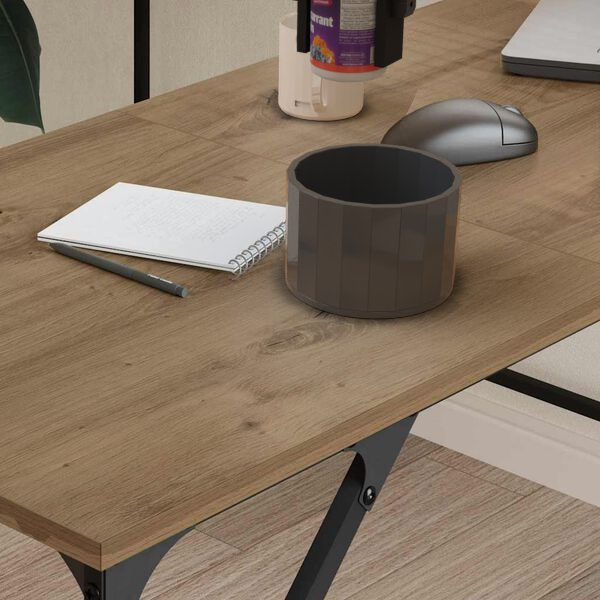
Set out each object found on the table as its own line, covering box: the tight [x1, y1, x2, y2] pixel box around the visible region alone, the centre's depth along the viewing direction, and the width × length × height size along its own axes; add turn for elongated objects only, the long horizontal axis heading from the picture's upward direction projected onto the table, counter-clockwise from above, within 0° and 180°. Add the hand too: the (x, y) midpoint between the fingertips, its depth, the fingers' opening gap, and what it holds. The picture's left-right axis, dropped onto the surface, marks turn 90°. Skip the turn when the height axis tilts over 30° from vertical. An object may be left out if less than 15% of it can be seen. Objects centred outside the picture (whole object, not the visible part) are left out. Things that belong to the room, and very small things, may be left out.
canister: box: [284, 142, 464, 320], centre depth 103 cm, size 13×13×9 cm
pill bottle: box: [310, 0, 388, 82], centre depth 91 cm, size 5×5×10 cm
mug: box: [277, 11, 365, 122], centre depth 139 cm, size 12×9×9 cm
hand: (349, 54), depth 92 cm, fingers closed on pill bottle, 5 cm apart
